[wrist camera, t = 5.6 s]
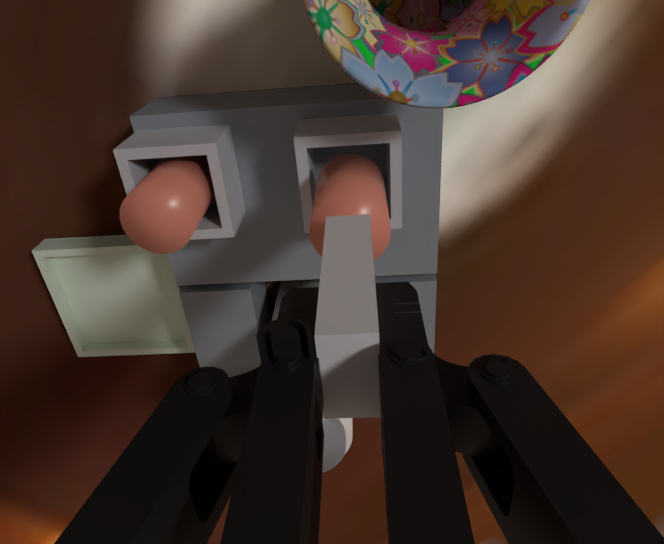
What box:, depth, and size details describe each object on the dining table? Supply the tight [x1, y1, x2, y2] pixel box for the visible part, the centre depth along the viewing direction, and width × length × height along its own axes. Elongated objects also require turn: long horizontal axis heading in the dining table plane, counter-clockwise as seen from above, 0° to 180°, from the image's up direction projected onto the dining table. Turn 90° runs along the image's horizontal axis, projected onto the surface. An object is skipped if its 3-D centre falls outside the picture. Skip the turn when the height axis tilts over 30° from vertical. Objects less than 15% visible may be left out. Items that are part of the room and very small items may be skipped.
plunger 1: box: [120, 156, 215, 254], centre depth 23 cm, size 3×3×4 cm
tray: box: [32, 235, 196, 357], centre depth 34 cm, size 9×9×2 cm
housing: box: [113, 83, 443, 377], centre depth 29 cm, size 18×15×7 cm
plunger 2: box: [310, 154, 391, 261], centre depth 20 cm, size 3×3×4 cm
